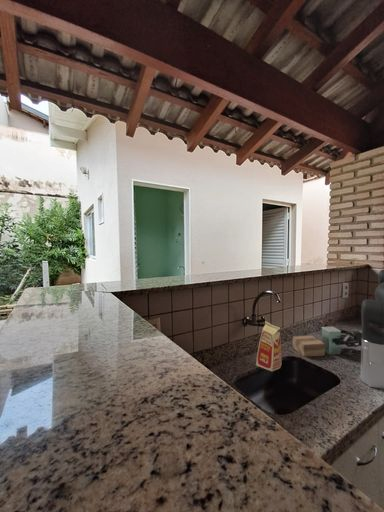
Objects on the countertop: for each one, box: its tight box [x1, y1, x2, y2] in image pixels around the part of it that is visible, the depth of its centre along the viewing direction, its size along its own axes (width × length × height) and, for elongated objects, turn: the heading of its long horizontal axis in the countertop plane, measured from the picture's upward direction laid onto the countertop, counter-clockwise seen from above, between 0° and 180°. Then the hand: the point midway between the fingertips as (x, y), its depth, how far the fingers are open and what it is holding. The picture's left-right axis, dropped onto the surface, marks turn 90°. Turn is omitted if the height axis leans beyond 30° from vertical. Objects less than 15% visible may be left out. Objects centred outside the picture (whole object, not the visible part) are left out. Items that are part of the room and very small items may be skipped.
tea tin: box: [321, 326, 342, 355], centre depth 123 cm, size 6×6×12 cm
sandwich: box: [292, 335, 326, 357], centre depth 123 cm, size 11×11×6 cm
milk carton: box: [255, 321, 283, 372], centre depth 109 cm, size 9×9×20 cm
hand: (329, 339), depth 123 cm, fingers open, 8 cm apart
